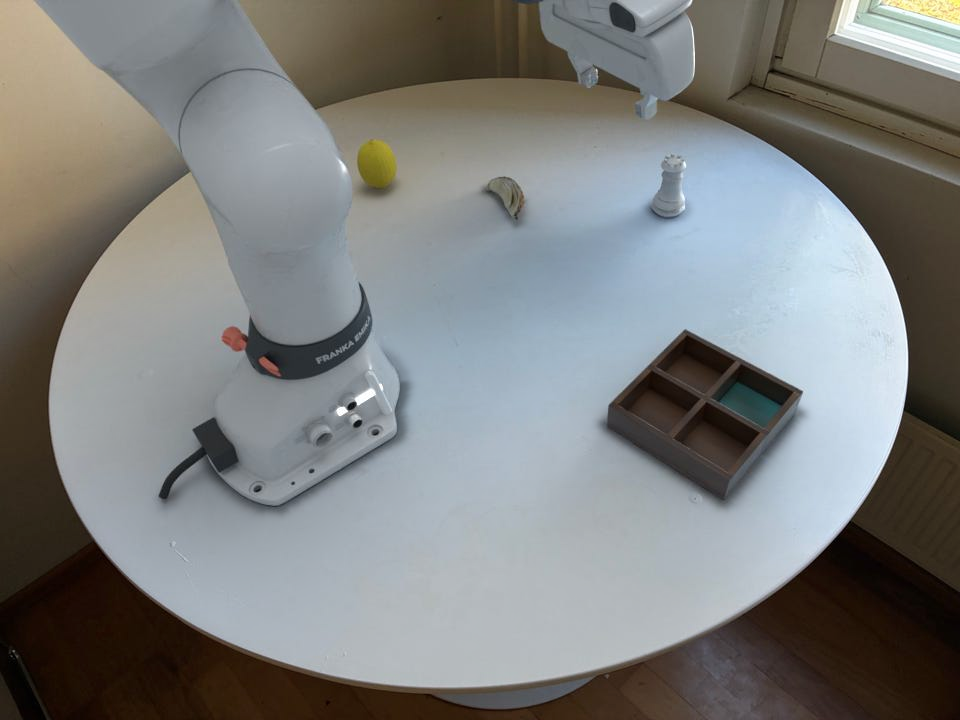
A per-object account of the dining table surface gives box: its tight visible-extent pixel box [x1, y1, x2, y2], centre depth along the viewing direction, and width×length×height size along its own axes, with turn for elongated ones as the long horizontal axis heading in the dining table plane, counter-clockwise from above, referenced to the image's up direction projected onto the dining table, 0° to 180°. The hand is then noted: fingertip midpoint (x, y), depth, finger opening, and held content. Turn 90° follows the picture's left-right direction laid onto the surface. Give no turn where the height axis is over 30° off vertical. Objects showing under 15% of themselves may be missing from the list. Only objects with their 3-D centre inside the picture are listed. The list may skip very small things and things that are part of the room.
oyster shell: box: [486, 176, 525, 221], centre depth 107 cm, size 6×4×10 cm
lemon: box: [356, 139, 397, 189], centre depth 111 cm, size 6×6×8 cm
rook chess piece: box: [651, 153, 687, 218], centre depth 102 cm, size 4×4×8 cm
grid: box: [606, 328, 804, 501], centre depth 80 cm, size 14×14×4 cm
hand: (616, 99), depth 86 cm, fingers open, 8 cm apart
